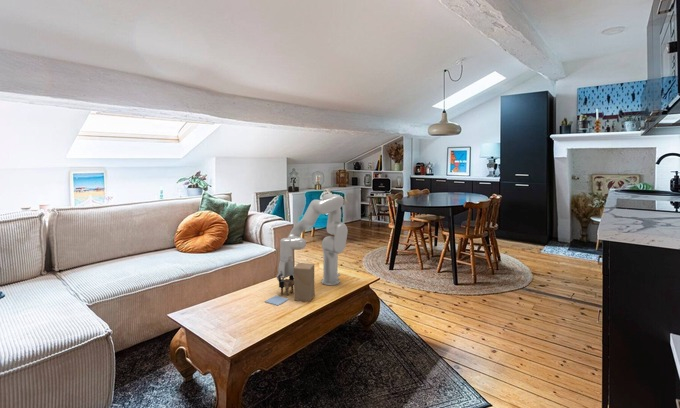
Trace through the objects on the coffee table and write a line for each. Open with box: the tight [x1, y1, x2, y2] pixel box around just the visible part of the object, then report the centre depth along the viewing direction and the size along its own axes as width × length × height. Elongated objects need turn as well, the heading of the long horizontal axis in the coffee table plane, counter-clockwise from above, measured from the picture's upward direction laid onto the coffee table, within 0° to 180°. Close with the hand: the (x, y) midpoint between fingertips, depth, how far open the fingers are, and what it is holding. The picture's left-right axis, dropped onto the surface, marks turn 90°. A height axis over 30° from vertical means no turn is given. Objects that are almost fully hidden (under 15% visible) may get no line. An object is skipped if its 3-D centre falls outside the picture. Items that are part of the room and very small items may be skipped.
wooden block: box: [293, 262, 316, 302], centre depth 207 cm, size 10×10×20 cm
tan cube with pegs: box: [280, 278, 294, 297], centre depth 214 cm, size 6×6×8 cm
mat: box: [264, 295, 290, 307], centre depth 204 cm, size 10×10×1 cm
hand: (286, 285), depth 214 cm, fingers open, 9 cm apart
